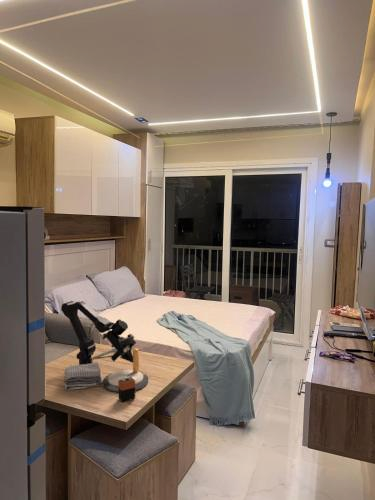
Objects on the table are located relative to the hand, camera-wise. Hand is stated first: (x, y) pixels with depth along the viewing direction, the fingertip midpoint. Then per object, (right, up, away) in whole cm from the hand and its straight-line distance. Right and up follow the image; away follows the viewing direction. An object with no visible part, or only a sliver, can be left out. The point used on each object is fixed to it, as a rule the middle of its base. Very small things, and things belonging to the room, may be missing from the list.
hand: (134, 362), depth 193 cm
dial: (-3, -6, -7) cm, 10 cm away
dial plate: (-3, -8, -8) cm, 11 cm away
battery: (0, -10, -25) cm, 26 cm away
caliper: (-20, -5, +28) cm, 35 cm away
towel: (-25, -8, -8) cm, 27 cm away
